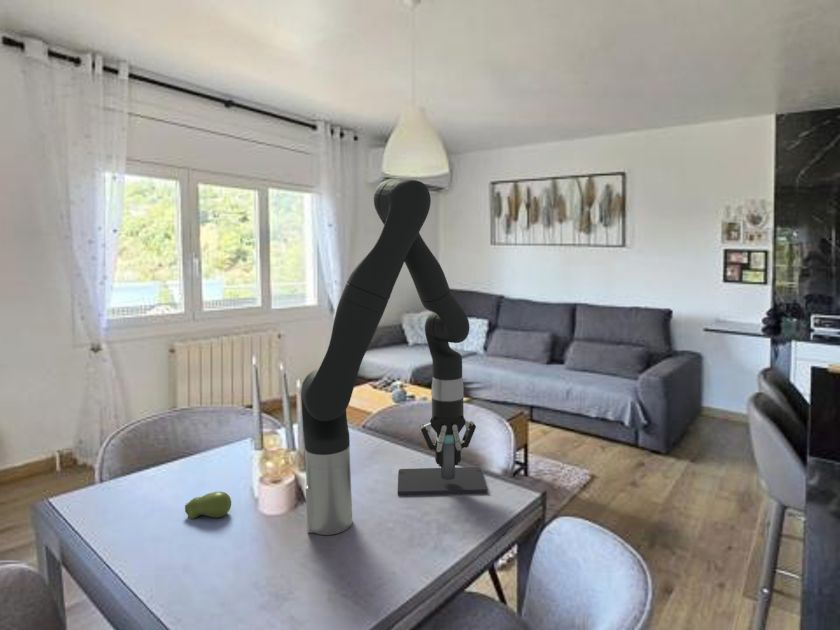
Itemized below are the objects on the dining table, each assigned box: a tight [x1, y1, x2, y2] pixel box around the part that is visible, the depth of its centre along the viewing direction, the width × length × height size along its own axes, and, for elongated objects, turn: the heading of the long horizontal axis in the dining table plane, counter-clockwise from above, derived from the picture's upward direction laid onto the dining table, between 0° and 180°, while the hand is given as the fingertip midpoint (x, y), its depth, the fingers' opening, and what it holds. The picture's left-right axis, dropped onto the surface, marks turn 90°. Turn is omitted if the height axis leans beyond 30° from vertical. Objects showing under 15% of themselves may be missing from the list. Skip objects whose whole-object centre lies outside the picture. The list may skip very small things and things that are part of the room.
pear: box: [184, 491, 232, 520], centre depth 116 cm, size 6×5×10 cm
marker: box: [440, 434, 456, 480], centre depth 126 cm, size 4×4×11 cm
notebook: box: [397, 466, 488, 497], centre depth 130 cm, size 13×2×21 cm
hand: (448, 464), depth 127 cm, fingers closed on marker, 3 cm apart
